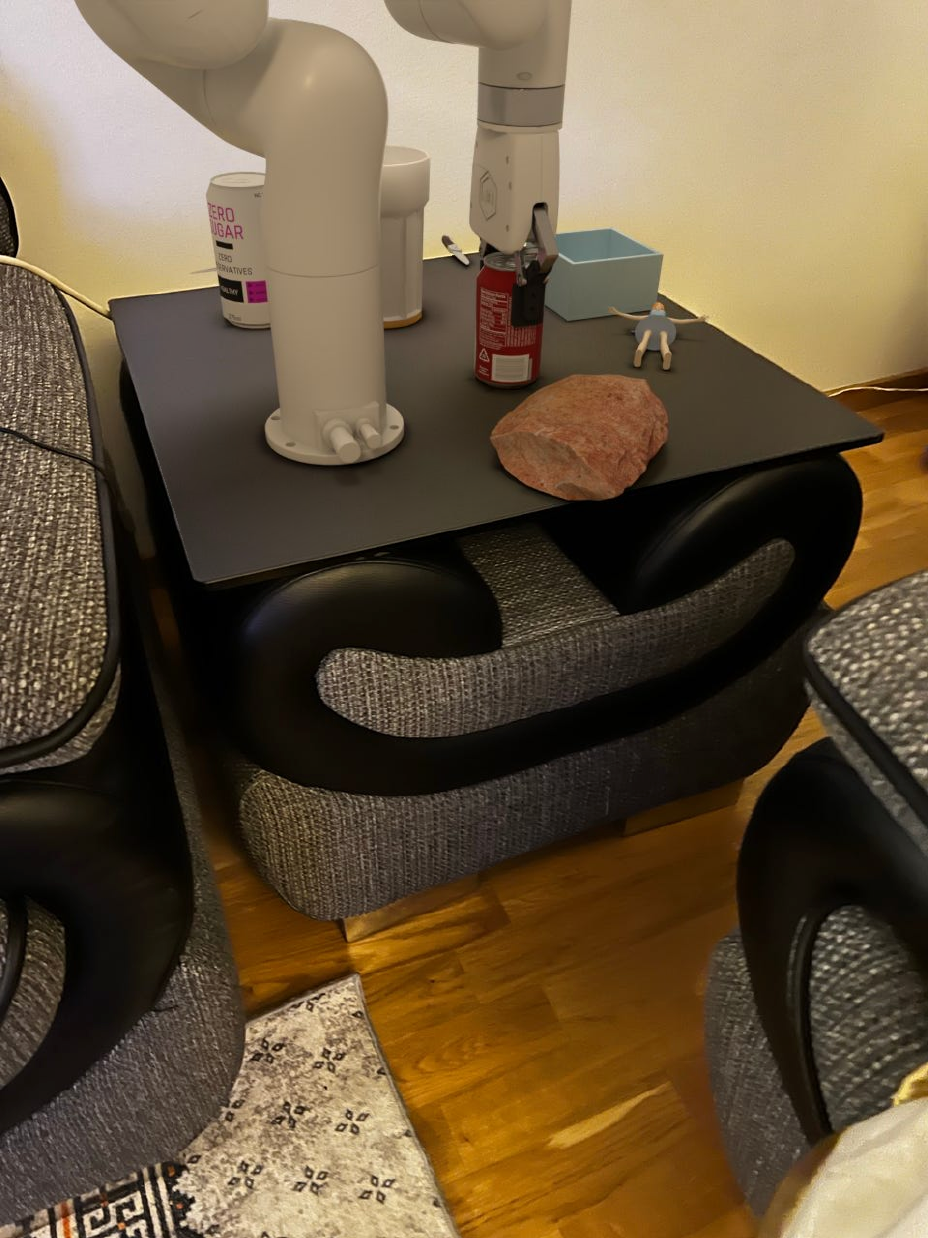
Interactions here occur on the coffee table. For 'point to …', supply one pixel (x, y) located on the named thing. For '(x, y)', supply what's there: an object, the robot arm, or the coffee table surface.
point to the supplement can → (239, 246)
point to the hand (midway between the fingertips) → (510, 310)
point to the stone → (583, 436)
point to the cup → (403, 232)
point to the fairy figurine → (655, 332)
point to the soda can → (503, 329)
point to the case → (602, 274)
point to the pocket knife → (453, 248)
